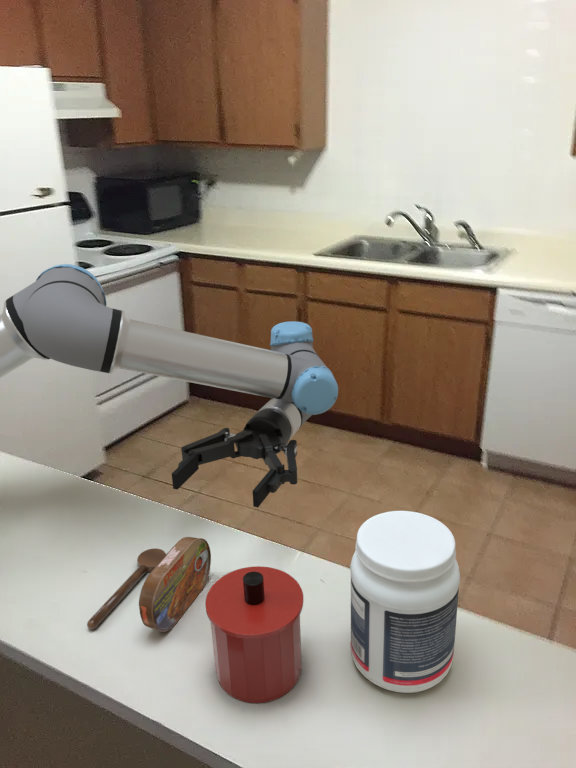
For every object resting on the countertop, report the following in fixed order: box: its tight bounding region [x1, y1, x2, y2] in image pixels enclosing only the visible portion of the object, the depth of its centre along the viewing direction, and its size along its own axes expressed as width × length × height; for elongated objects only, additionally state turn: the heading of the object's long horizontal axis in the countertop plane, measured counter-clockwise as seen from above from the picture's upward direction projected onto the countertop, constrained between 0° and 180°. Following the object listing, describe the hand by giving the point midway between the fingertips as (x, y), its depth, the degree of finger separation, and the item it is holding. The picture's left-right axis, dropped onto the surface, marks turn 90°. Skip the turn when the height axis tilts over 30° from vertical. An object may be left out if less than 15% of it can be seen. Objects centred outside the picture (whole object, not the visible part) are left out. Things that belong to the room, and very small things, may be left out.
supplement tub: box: [349, 510, 461, 694], centre depth 81 cm, size 13×13×18 cm
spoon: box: [86, 548, 167, 631], centre depth 97 cm, size 17×4×1 cm, turn 157°
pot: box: [210, 614, 302, 704], centre depth 82 cm, size 11×11×10 cm
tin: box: [138, 536, 212, 633], centre depth 93 cm, size 15×3×8 cm, turn 157°
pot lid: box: [205, 565, 304, 639], centre depth 79 cm, size 12×12×4 cm
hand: (213, 490), depth 99 cm, fingers open, 13 cm apart
